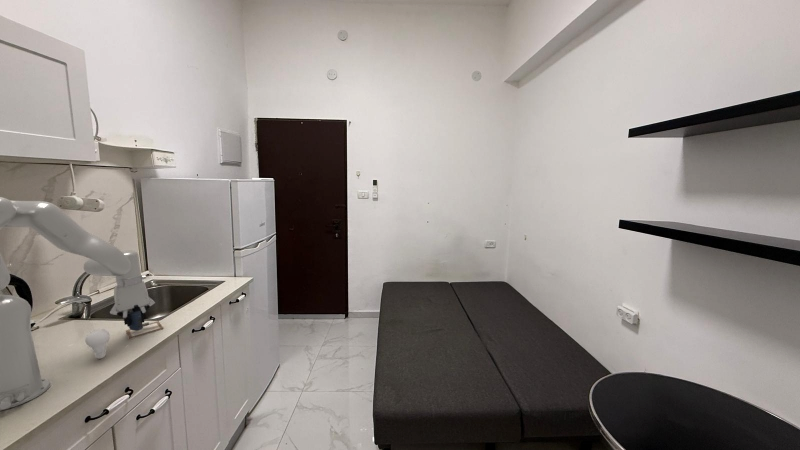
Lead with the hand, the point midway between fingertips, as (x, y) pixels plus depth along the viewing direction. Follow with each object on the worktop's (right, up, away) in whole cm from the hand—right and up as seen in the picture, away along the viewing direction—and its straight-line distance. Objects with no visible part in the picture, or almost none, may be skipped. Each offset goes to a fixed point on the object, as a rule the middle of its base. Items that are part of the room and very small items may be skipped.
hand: (135, 323), depth 121 cm
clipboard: (0, -5, +4) cm, 6 cm away
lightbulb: (+1, -8, -15) cm, 17 cm away
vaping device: (0, -3, 0) cm, 3 cm away
